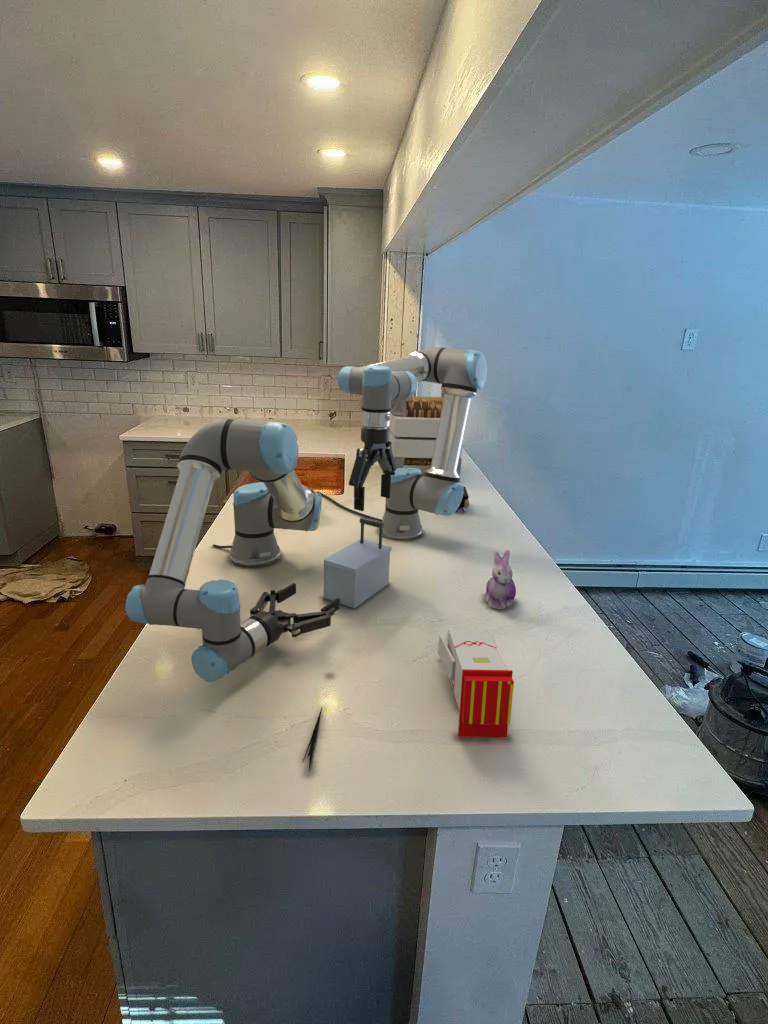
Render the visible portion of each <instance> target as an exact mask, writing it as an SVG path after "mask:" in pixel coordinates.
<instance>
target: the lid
mask: <svg viewBox="0 0 768 1024" xmlns="http://www.w3.org/2000/svg"><path fill="white" fill-rule="evenodd" d="M359 523H360V538H359V539H358V540H356V541H354V542H353V543H351V544H349V545H346V546H345V547H343V548H342V549H340V550H339V551H337V552H334V553H333V554H331V555H329V556H328V557H326V558H324V559H323V565H324V564H326V565H329V566H332V567H336V568H339V569H342V570H345V571H348V572H351V573H355V574H356V573H357V572H359V571H361V570H362V569H364V568H365V567H367V566H368V565H370V564H372V563H373V562H375V561H376V560H378V559H379V558H381V557H383V556H384V555H386V554H387V553H389V552H390V553H391V552H392V546H389V545H385V544H383V535H382V532H383V527H384V523H383V522H380V521H376V520H373V519H370V518H367V517H364V516H360V518H359ZM365 525H367V526H370V527H374V528H378V542H376V541H375V542H374V541H371V540H367V539H365Z"/></svg>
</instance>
